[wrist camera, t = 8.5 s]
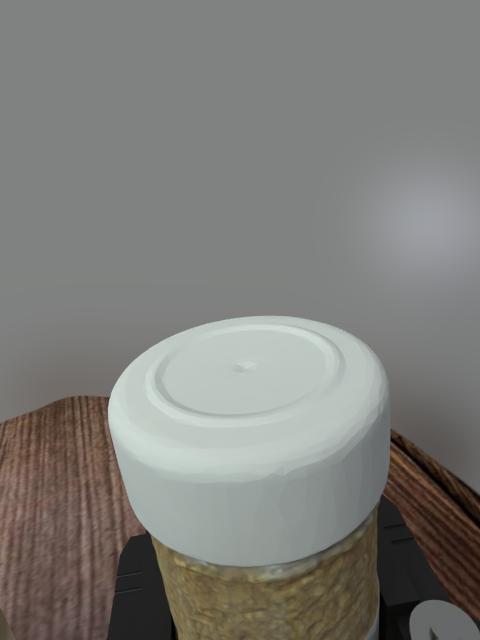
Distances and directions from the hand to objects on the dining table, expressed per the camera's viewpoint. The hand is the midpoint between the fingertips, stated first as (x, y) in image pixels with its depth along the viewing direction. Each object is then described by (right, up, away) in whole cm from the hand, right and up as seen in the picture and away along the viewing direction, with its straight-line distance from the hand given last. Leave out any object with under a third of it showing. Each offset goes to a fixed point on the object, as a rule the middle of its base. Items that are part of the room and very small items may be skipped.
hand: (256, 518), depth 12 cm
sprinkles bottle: (+1, -8, 0) cm, 8 cm away
